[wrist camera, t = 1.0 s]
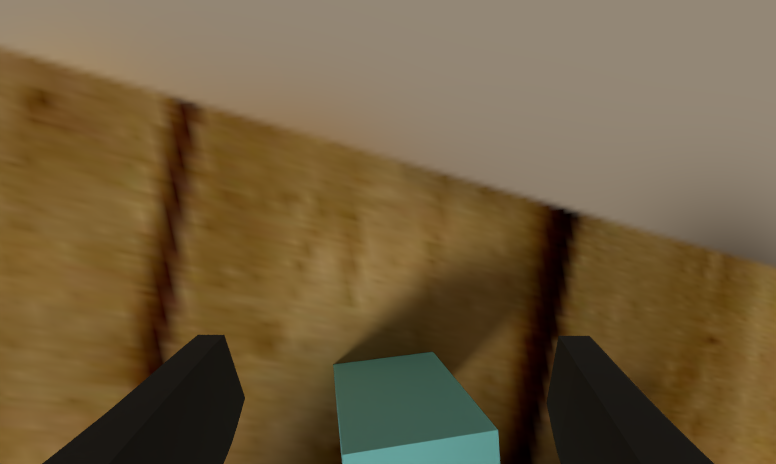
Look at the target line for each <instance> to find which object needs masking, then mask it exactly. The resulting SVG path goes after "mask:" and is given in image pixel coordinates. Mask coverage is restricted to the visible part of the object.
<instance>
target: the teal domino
mask: <svg viewBox="0 0 776 464" xmlns="http://www.w3.org/2000/svg"><path fill="white" fill-rule="evenodd" d="M333 367H334V379H335V391H336V403H337V414H338V424H339V435H340V445H341V456H342V464H500V454H499V438H498V429H497V428H496V427H495V426H494V425H493V423H492V422H491V421H490V420H489V419H488V417H487V416H486V415H485V414H484V413H483V411H482V410H481V409H480V408H479V406H478V405H477V404H476V403H475V402H474V400H473V399H472V398H471V397H470V396H469V394H468V393H467V392H466V391H465V390H464V388H463V387H462V386H461V385H460V384H459V382H458V381H457V380H456V379H455V378H454V376H453V375H452V374H451V373H450V372H449V370H448V369H447V368H446V367H445V366H444V364H443V363H442V362H441V361H440V360H439V358H438V357H437V356H436V355H435V354H434V352H427V353H419V354H412V355H404V356H396V357H388V358H380V359H372V360H365V361H357V362H349V363H341V364H333Z"/></svg>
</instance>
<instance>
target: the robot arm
mask: <svg viewBox="0 0 776 464" xmlns="http://www.w3.org/2000/svg"><path fill="white" fill-rule="evenodd" d="M244 400H245V397H244V394H243V391H242V387H241V384H240V381H239V378H238V375H237V372H236V369H235V366H234V363H233V360H232V357H231V354H230V351H229V348H228V345H227V342H226V339H225V336H224V335H197V336H196V337H195V338H194V339H192V340H191V341H190V342H189V343H188V344H186V345H185V346H184V347H183V348H182V349H180V350H179V351H178V352H177V353H176V354H175V355H173V356H172V357H171V358H170V359H169V360H168V361H166V362H165V363H164V364H163V365H162V366H161V367H160V368H158V369H157V370H156V371H155V372H154V373H153V374H151V375H150V376H149V377H148V378H147V379H146V380H145V381H143V382H142V383H141V384H140V385H139V386H137V387H136V388H135V389H134V390H133V391H132V392H130V393H129V394H128V395H127V396H126V397H125V398H123V399H122V400H121V401H120V402H119V403H117V404H116V405H115V406H114V407H113V408H112V409H110V410H109V411H108V412H107V413H106V414H104V415H103V416H102V417H101V418H99V419H98V420H97V421H96V422H94V423H93V424H92V425H91V426H89V427H88V428H87V429H86V430H84V431H83V432H82V433H81V434H79V435H78V436H77V437H76V438H74V439H73V440H72V441H71V442H69V443H68V444H67V445H65V446H64V447H63V448H62V449H60V450H59V451H58V452H57V453H55V454H54V455H53V456H52V457H50V458H49V459H48V460H46V461H45V462H44V463H42V464H223V463H224V461H225V459H226V456H227V454H228V451H229V449H230V446H231V444H232V441H233V438H234V434H235V431H236V428H237V425H238V421H239V418H240V414H241V410H242V407H243V403H244ZM547 407H548V412H549V417H550V422H551V427H552V431H553V436H554V440H555V445H556V449H557V453H558V456H559V460H560V463H561V464H714V463H713V462H712V461H711V460H710V459H709V458H708V457H706V456H705V455H704V454H703V453H702V452H701V451H700V450H699V449H698V448H697V447H696V446H695V445H694V444H693V443H692V442H691V441H690V440H689V439H688V438H687V437H686V436H685V435H684V434H683V433H682V432H681V431H680V430H679V429H678V428H677V427H676V426H675V425H674V424H673V423H672V422H671V421H670V420H669V419H668V418H667V417H666V416H665V415H664V414H663V413H662V412H661V411H660V410H659V409H658V408H657V407H656V406H655V405H654V404H653V403H652V402H651V401H650V400H649V399H648V398H647V397H646V396H645V395H644V394H643V393H642V392H641V391H640V390H639V389H638V387H637V386H636V385H635V384H634V383H633V382H632V381H631V380H630V379H629V378H628V377H627V376H626V375H625V374H624V373H623V372H622V370H621V369H620V368H619V367H618V366H617V365H616V364H615V363H614V362H613V361H612V360H611V359H610V357H609V356H608V355H607V354H606V353H605V352H604V351H603V350H602V349H601V348H600V347H599V346H598V345H597V343H596V342H595V341H594V340H593V339H592V338H591V337H590V336H559V337H558V342H557V348H556V353H555V359H554V365H553V370H552V376H551V381H550V387H549V392H548V398H547Z"/></svg>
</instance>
